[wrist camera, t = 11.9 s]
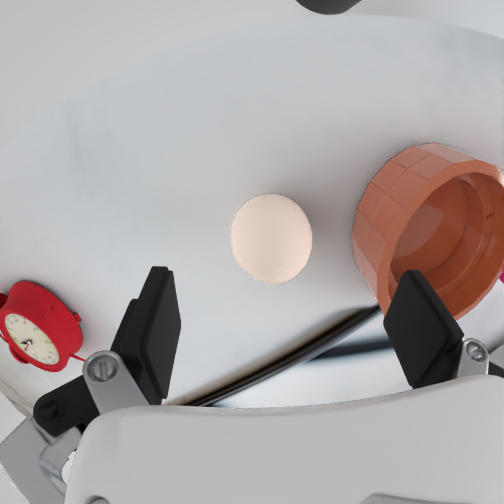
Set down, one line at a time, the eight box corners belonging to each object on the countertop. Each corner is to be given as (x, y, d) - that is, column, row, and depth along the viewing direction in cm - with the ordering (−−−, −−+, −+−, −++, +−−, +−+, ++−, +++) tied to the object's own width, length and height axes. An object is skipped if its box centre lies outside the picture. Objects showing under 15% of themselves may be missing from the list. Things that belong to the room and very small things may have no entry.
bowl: (364, 126, 17) (406, 139, 12) (490, 160, 17) (533, 181, 12) (334, 293, 23) (353, 340, 19) (451, 287, 24) (478, 322, 19)
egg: (234, 179, 18) (230, 219, 13) (306, 186, 19) (335, 228, 13) (229, 244, 21) (225, 304, 15) (295, 248, 21) (314, 308, 15)
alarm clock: (97, 377, 24) (7, 386, 21) (104, 335, 29) (19, 352, 27) (42, 297, 18) (-43, 322, 16) (63, 260, 24) (-22, 290, 21)
